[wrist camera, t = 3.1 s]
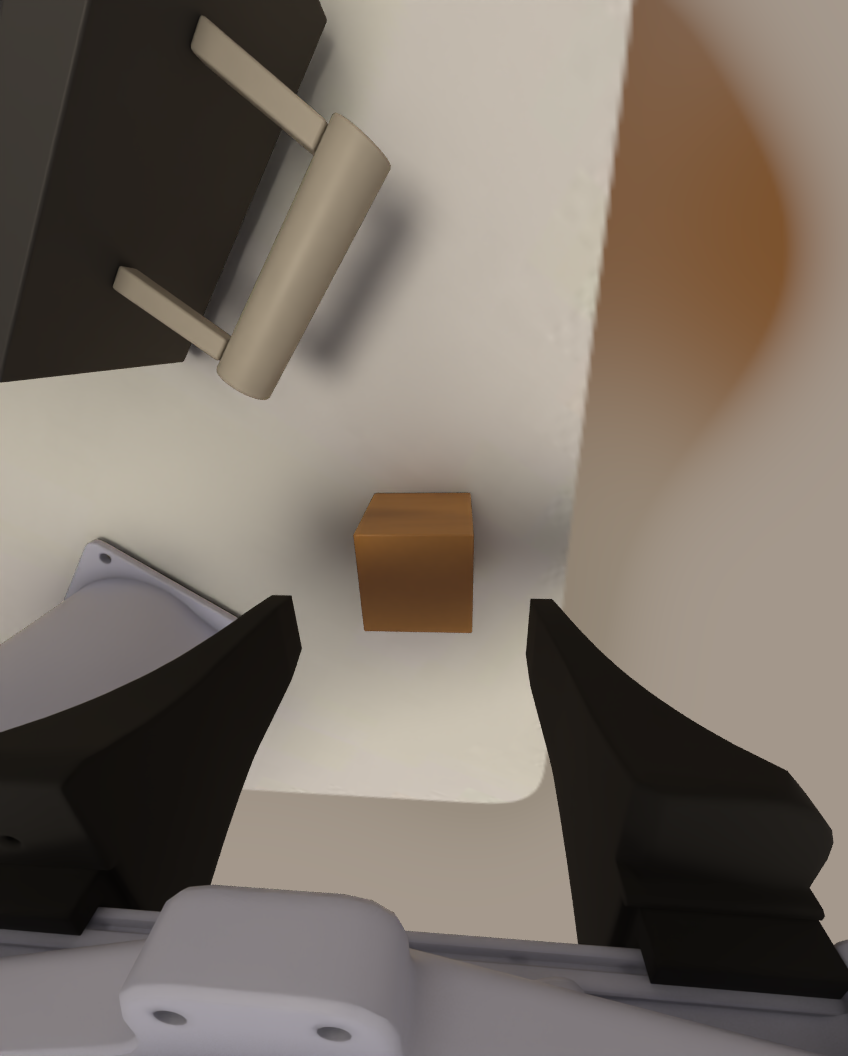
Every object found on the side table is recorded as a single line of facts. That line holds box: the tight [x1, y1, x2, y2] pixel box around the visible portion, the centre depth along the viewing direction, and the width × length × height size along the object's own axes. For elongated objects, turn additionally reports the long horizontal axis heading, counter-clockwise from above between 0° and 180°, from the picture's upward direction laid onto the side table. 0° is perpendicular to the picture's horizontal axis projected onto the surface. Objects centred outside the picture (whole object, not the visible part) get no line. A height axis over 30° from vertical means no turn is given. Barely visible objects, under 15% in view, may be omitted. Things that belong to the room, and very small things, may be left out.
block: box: [353, 493, 474, 633], centre depth 17 cm, size 4×4×4 cm
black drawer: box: [0, 0, 391, 400], centre depth 9 cm, size 17×10×7 cm, turn 54°
